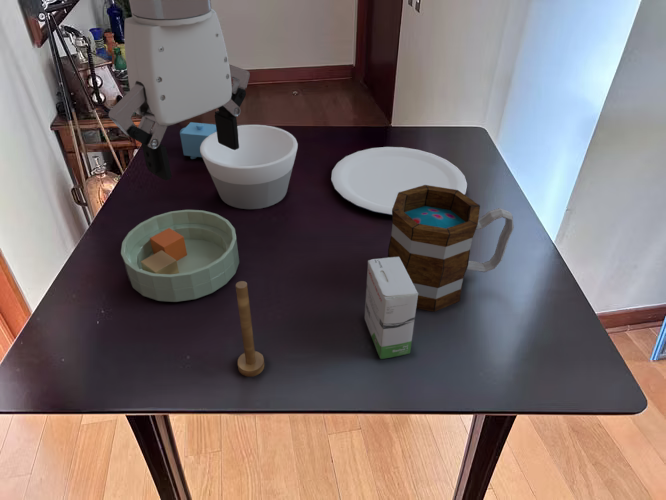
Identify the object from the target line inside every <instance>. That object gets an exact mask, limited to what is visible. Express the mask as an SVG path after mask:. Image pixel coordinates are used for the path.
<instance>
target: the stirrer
mask: <svg viewBox="0 0 666 500" xmlns="http://www.w3.org/2000/svg"><path fill="white" fill-rule="evenodd" d="M248 289H249V288H248V283H247V282H246V281H244V280H240V281H238V282H236V283H235V292H236V299H237V300H236V301H237V308H238V316H239V323H240V331H241V337H242V346H243V353H242V354H240V356H239V357H238V359H237V367H238V368H237V369H238V371H239V373H240V374H241V375H242V376H244V377H247V378H248V377H249V378H251V377H256V376H258V375H259V374H261V373H262V372H263V370H264V369H265V357H264V355H263V354H262V353H261V352H259V351H256V350H255V342H254V341H255V340H254V332H253V323H252V315H251V306H250V298H249V290H248Z"/></svg>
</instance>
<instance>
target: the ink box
mask: <svg viewBox="0 0 666 500" xmlns="http://www.w3.org/2000/svg"><path fill="white" fill-rule="evenodd" d="M417 298H418V292H417V290H416V289H415V287H414V285H413V283H412V281H411V279H410V277H409V275H408V273H407V271H406V269H405V267H404V265H403V263H402V261H401V259H400V257H388V256H387V257H382V258H372V259H368V260H367V274H366V287H365V305H364V321H365V324H366V326H367V329H368V332H369V335H370V337H371V339H372V342H373V344H374V347H375V350H376V352H377V354H378V357H379V359H380V360H384V359H389V358H391V359H392V358H396V357H401V356H405V355H409V354H411V348H412V342H413V335H414V329H415V319H416V312H417V308H416V306H417Z"/></svg>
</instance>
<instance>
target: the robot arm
mask: <svg viewBox="0 0 666 500" xmlns="http://www.w3.org/2000/svg"><path fill="white" fill-rule="evenodd" d="M128 2H129V7H130V12H131V17H127V18H124V25H123V26H124V29H123V30H124V33H123V35H124V55H125V65H126V71H127V79H128V86H129V91H128V92H127V93H125V95H124V96H123V97H122V98H121V99H120V100H119V101H118V102H117V103H116V104H115V105H114V106H113V107H112V108H111V109H110V110H109V111H108V117H109V119H110V120H111V121H112V122H113V123H114V125H116V127H118V129H120V130H121V133H122V134H124V135H126V136H127V137H129V138H131V139H133V140H135V141H136V142H138V143H141V148H142V152H143V157H144V161H145V166H146V168H147V170H148V171H149V172H150V174H153V175H155V176H157V177H158V178H160V179H162V180H164V181H165V182H166V181H167V182H168V181H169V180H171V179H172V171H171V167H170V166H171V165H170V161H169V157H168V150H167V148H166V146H165V145H164V144H161V143H162V140H163V138H164V136H165V135H166V132H167V129H168V127H169V126H173V125H176V124H179V123H183V122H184V121H187V120H190V119H193V118H196V117H198V116H201V115H203V114H207V113H208V112H211V111H214V110H216V111H214V121H215V123H214V124H215V125H216V130H217V138H218V142H219V143H220V144H222V145H224V146H226V147H228V148H230V149H232V150H236V149H238V148H239V141H238V128H237V126H238V118H237V117H239V116H240V115H241V111H242V110H241V106H242V103H243V102H244V100H245V98H246V96H247V92H246V89H247V87H248V83H249V80H250V76H251V74H250V71H249V70H247V69H244V68H241V67H238V66H236V65H232V64H230V62H229V55H228V50H227V46H226V42H225V37H224V33H223V30H222V27H221V23H220V20H219V16H218V13H217V11H216V10H214V9H212V1H211V0H128ZM134 113H136V114H137V115H138V116H140V117H141V119H140V122H139V123H138V126H137V125H136V124H135V122H134V121H133V119H132V117H133V115H134Z"/></svg>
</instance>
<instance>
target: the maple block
mask: <svg viewBox="0 0 666 500" xmlns="http://www.w3.org/2000/svg"><path fill="white" fill-rule="evenodd" d="M141 265H142V269H143V270H144V271H147V272H151V273H155V274H178V273H179V270H178V265H177V261H176V260H175V259H174V258H172V257H171V256H169V255H168V254H167V253H165V252H164V251H162V250H161V251H159V252H157V253H155V254H154V255H152V256H150V257H148V258H146V259H144V260H143V261H141Z"/></svg>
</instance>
